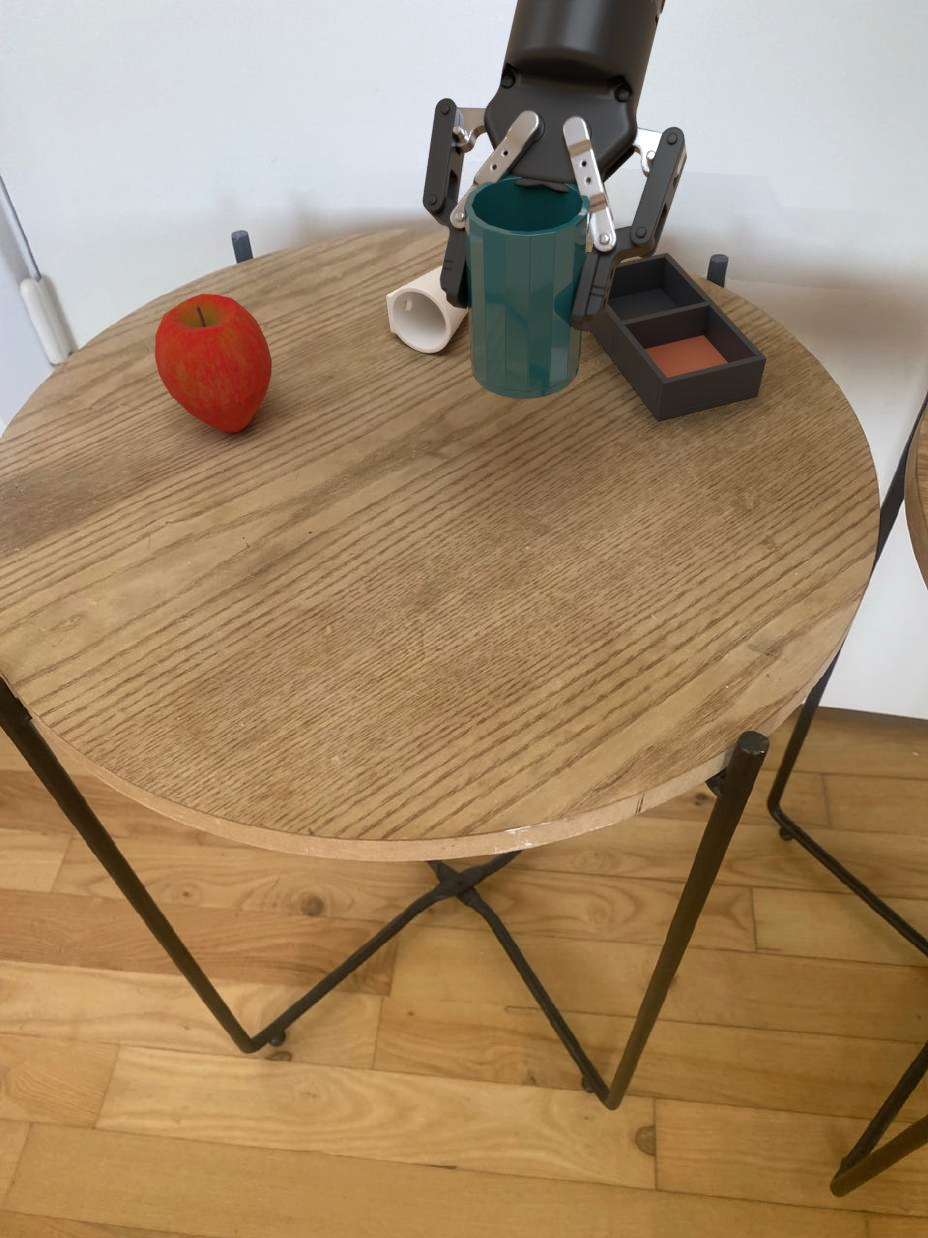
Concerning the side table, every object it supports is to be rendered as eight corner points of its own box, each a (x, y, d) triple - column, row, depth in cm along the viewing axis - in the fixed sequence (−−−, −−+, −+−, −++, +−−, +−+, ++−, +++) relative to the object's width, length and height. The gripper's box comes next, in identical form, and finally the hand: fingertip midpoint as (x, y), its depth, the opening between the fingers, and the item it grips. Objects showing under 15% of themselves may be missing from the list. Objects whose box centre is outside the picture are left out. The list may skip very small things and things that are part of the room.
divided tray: (757, 396, 76) (767, 357, 74) (658, 421, 75) (663, 383, 72) (662, 288, 87) (667, 251, 84) (573, 309, 85) (575, 272, 83)
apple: (188, 393, 79) (151, 274, 71) (290, 389, 79) (264, 269, 71) (171, 461, 74) (128, 341, 66) (280, 457, 74) (250, 335, 66)
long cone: (561, 274, 92) (452, 359, 81) (504, 264, 95) (391, 345, 83) (561, 213, 88) (447, 293, 77) (502, 205, 91) (383, 281, 80)
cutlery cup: (584, 339, 58) (595, 176, 51) (572, 404, 54) (582, 238, 47) (481, 330, 59) (477, 170, 52) (462, 394, 55) (454, 230, 48)
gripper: (443, -55, 49) (373, 276, 51) (726, -32, 45) (637, 323, 47) (481, 24, 56) (418, 311, 58) (728, 49, 52) (651, 354, 54)
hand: (517, 315), depth 53 cm, fingers closed on cutlery cup, 6 cm apart
